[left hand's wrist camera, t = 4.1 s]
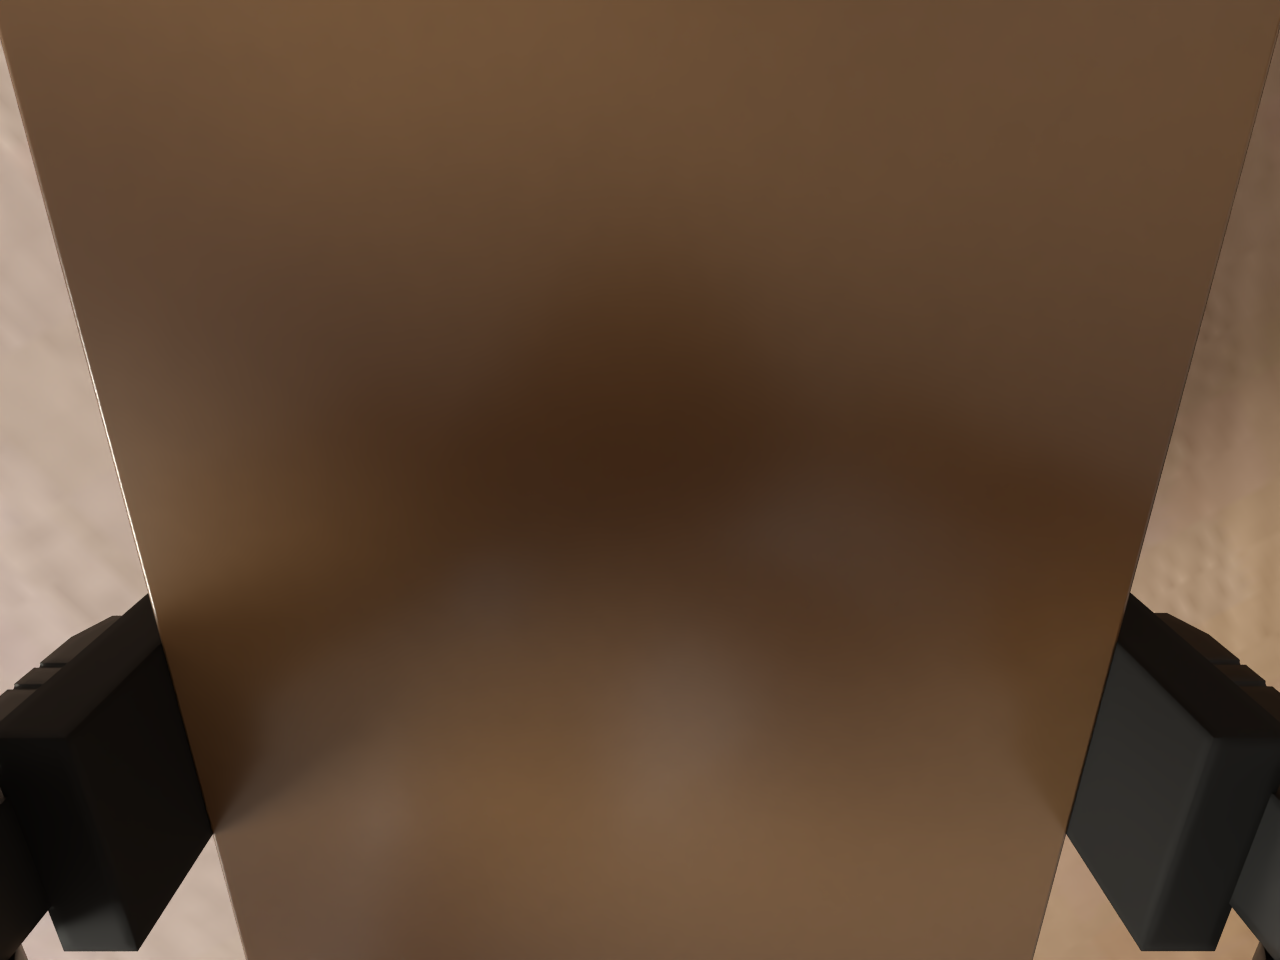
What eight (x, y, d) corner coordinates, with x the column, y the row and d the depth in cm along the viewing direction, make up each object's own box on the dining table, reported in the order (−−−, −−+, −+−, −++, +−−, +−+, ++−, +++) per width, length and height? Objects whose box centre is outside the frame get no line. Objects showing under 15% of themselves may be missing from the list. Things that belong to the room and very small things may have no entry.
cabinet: (360, -248, 14) (-380, -1364, 4) (916, -247, 14) (1651, -1357, 4) (449, 606, 21) (264, 1036, 11) (828, 606, 21) (1014, 1034, 11)
